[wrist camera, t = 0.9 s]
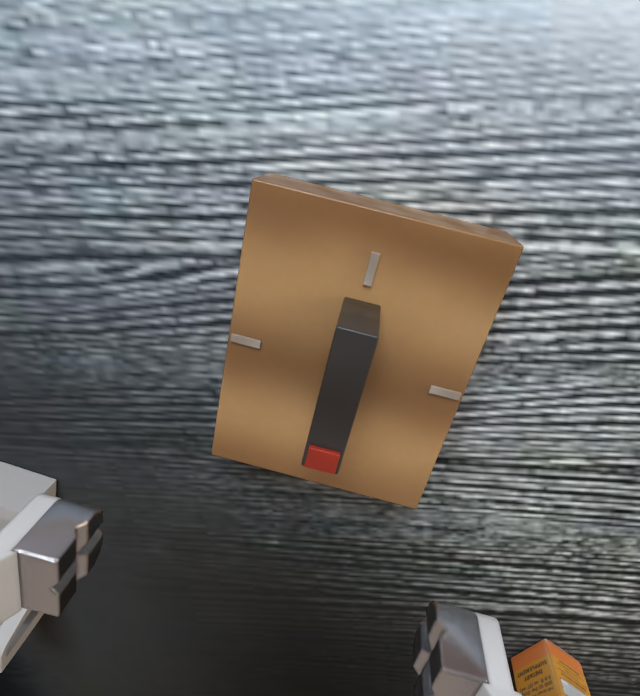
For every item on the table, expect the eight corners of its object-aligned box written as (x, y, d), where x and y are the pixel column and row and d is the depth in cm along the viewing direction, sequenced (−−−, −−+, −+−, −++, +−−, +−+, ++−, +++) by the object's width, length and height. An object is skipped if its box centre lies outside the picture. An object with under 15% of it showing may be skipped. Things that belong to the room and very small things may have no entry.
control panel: (269, 172, 22) (250, 178, 19) (507, 231, 21) (525, 247, 18) (228, 423, 28) (209, 456, 25) (413, 472, 27) (416, 512, 24)
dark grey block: (344, 295, 20) (335, 328, 17) (381, 305, 20) (379, 340, 17) (312, 420, 23) (299, 469, 20) (344, 428, 23) (337, 479, 20)
